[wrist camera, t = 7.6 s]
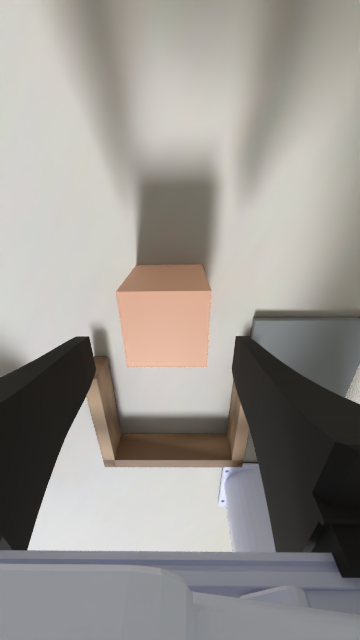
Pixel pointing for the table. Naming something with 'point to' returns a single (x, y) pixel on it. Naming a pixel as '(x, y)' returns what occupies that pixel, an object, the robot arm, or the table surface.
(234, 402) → the walnut stall
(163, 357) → the terracotta block
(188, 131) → the table surface
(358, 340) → the slate mat
